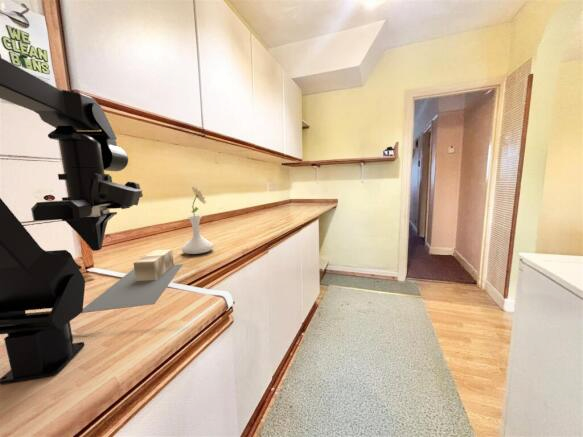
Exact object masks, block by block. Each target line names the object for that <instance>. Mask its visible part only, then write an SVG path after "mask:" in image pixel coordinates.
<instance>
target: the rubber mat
mask: <svg viewBox="0 0 583 437" xmlns="http://www.w3.org/2000/svg"><path fill="white" fill-rule="evenodd" d="M182 267H183V263H180V264H174V265H173V266H172V267H171V268H169V269H168V270H167V271H166V272H165V273H163V274H162V275H161V276H160V277H159V278H157V279H156V280H146V281H136V278H135V270H134V268H133V269H131V270H130V271H129V272H127V273H126V274H125V275H124V276H122V277H121V278H119V280H118V281H116V282H115V283H114V284H112V285H111V286H110V287H109V288H107V289H106V290H105V291H104V292H102V293H101V294H99V295H98V296H97V297H96V298H94V299H93V300H92V301H90V302H89V303H88V304H87V305H86V306H85V307H84V306H83V311H82V313H90V312H99V311H107V310H116V309H122V308H123V309H124V308H133V307H141V306H148V305H156V303H157V301H158V300H159V299H160V297H161V296H162V294H164V292H165V290H166V289H167V287H168V286H169V285H170V284H171V282H172V281H173V279H174V278H175V276H176V275H177V274H178V272H179V271H180V269H181V268H182ZM82 313H81V314H82Z"/></svg>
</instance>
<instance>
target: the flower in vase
mask: <svg viewBox="0 0 583 437" xmlns="http://www.w3.org/2000/svg"><path fill="white" fill-rule="evenodd" d="M191 189H192V192H193V193H194V195H195V197H194V199H193V202H192V206H191V208H192V210H191V213H193V215H188V216H187V218H188V220H189V221H190V223H191V227H192V235H191V238H190V239H189V240H188V241H186V242H185V244H183V246H181V249H180V251H181V252H182V253H184V254H187V255H198V254H204V253H207V252H210V251H212V250H213V248H214V244H213V243H212V242H211V241H209V240H207V239H206V238H205V237H203V236H202V235H201V233H200V221H201V218H202V217H203V216H202V215H199V214H197V215H195V213H196V212H197V211H198V210H199V207H197V206H195V207H194V204H195V202H196V199H198V201H200V202H201V203H202V204H204V205H205V204H206V203H207V201H206V200H205V197H204V196H203V194H202V192H201V190H199V189H198V188H197V187H196V186H194V185H193V186H191Z"/></svg>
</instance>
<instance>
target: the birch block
mask: <svg viewBox="0 0 583 437" xmlns="http://www.w3.org/2000/svg"><path fill="white" fill-rule="evenodd" d="M173 253H174V252H173V249H172V248H171V249H155V250H153V251H151V252H150V253H148V254H145V255H144V256H143V257H140V258H139V259H138V260H136V261H134V262H133V269H134V270H135V278H136V281H146V280H156V279H157V278H159V277H160V276H161V275H162V274H163V273H165V272H166V271H167V270H168V269H169V268H171V267H172V266H173V265H175V264H174V254H173Z"/></svg>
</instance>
